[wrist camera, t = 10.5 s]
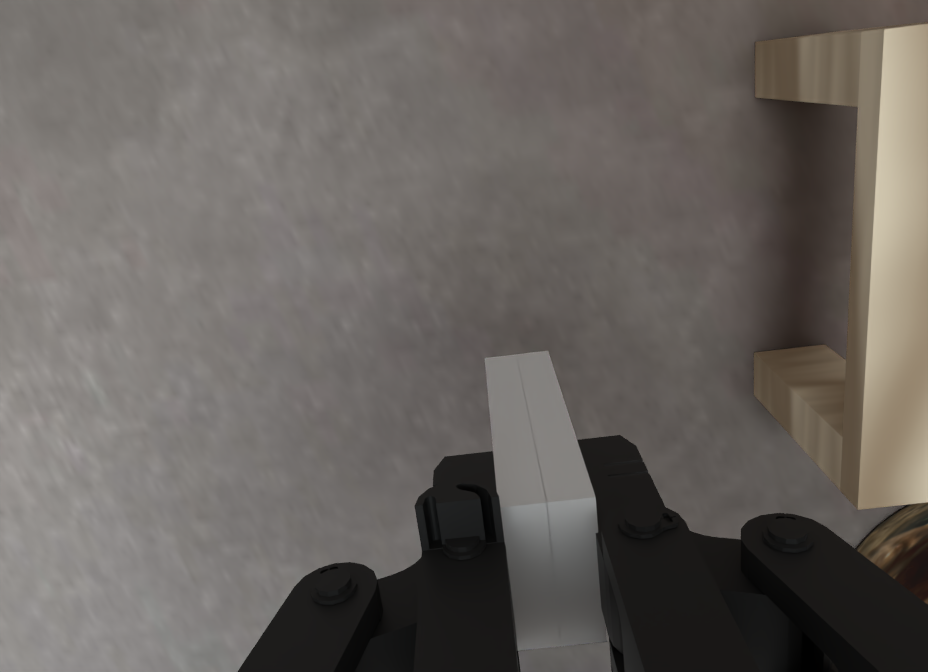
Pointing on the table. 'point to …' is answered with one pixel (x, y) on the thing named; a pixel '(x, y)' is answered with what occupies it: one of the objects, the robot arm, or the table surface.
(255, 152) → the table surface
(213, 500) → the table surface
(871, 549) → the jar
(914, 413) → the bridge
